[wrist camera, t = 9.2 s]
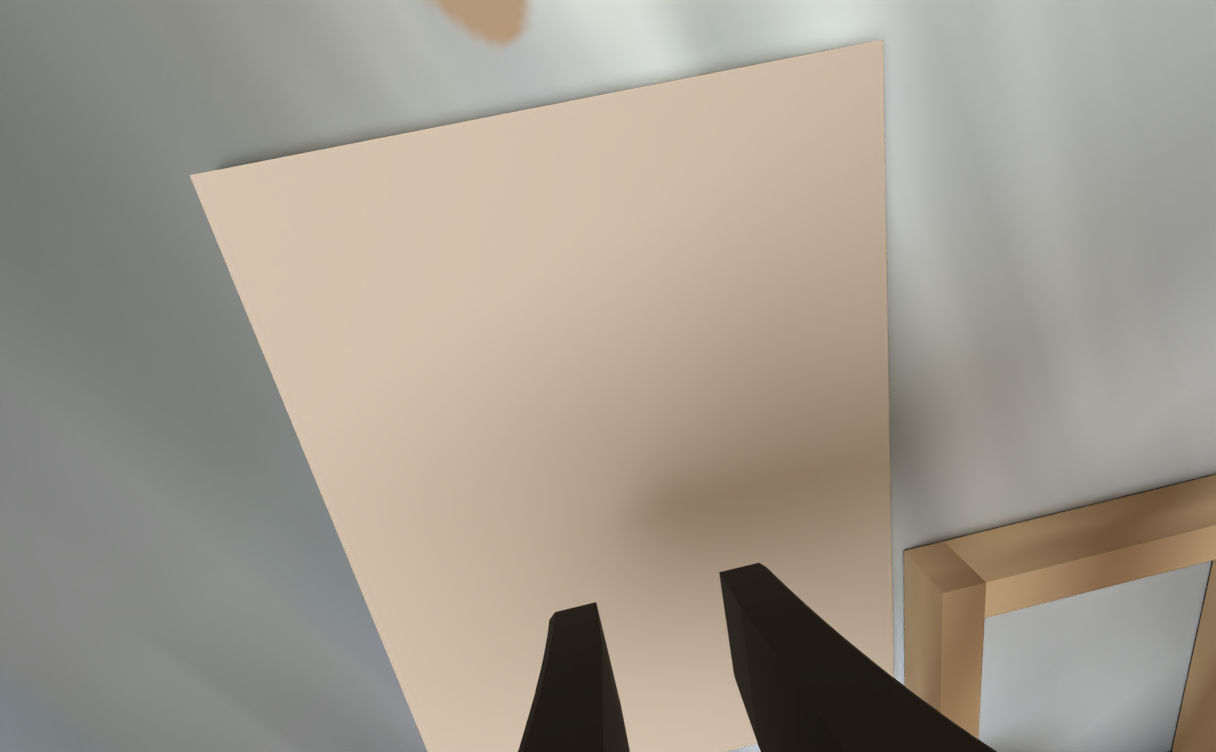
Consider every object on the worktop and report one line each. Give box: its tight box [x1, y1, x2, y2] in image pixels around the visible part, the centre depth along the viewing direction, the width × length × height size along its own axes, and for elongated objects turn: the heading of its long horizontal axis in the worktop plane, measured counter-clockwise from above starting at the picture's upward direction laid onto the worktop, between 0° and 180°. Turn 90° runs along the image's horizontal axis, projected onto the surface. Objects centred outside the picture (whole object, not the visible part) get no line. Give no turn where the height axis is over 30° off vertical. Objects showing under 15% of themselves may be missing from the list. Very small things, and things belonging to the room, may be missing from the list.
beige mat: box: [190, 40, 894, 752], centre depth 13 cm, size 11×15×1 cm
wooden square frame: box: [904, 475, 1216, 752], centre depth 17 cm, size 10×11×2 cm
